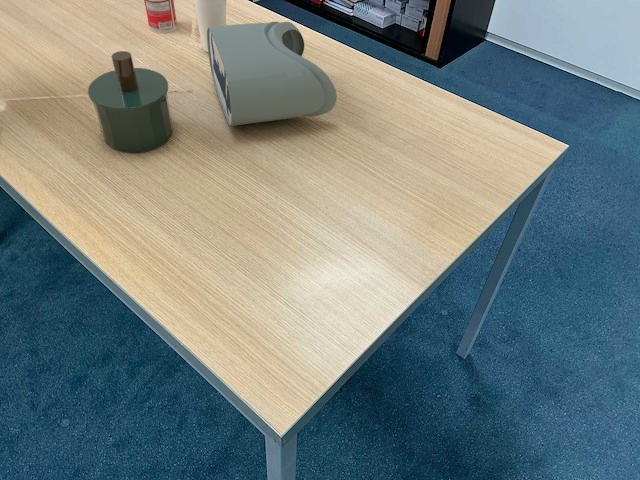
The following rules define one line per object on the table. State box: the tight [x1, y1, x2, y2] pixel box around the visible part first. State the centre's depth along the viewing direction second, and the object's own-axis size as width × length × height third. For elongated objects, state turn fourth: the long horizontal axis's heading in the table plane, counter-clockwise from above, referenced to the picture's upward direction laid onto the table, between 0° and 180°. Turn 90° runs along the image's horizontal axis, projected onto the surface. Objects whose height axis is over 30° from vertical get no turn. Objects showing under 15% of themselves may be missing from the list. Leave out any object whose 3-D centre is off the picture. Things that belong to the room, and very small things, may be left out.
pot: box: [93, 93, 174, 154], centre depth 92 cm, size 12×12×8 cm
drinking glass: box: [192, 0, 227, 54], centre depth 113 cm, size 7×7×15 cm
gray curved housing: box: [207, 21, 338, 127], centre depth 100 cm, size 22×19×13 cm
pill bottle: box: [143, 0, 178, 34], centre depth 119 cm, size 6×6×11 cm
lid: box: [87, 50, 169, 111], centre depth 87 cm, size 13×13×7 cm
